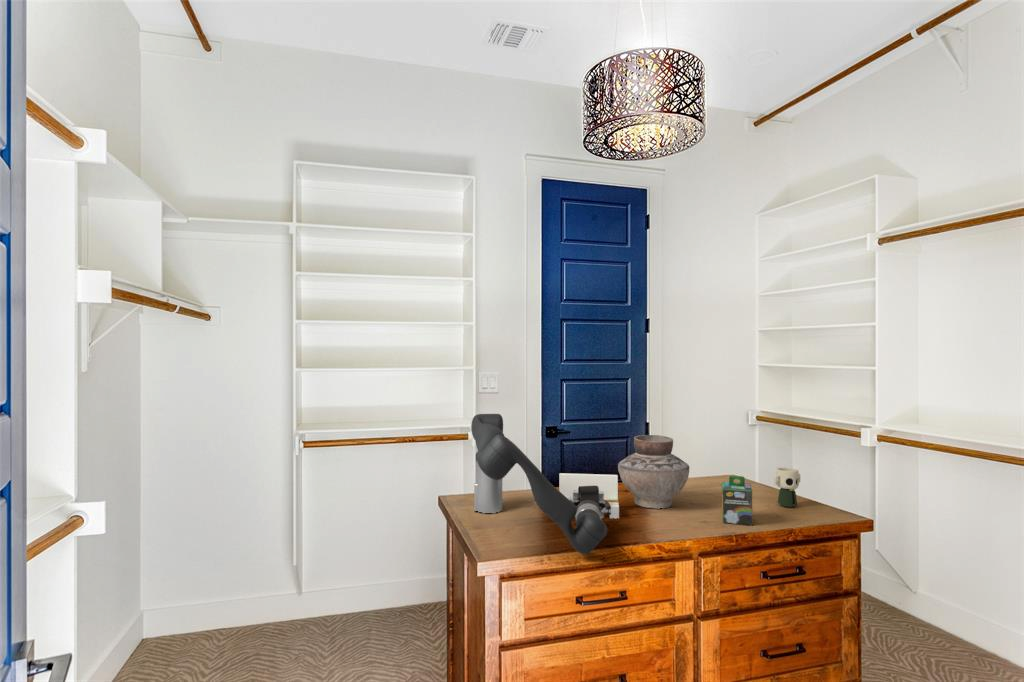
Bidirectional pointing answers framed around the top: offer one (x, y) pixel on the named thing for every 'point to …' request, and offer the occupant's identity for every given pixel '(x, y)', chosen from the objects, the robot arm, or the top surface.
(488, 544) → the top surface
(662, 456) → the ceramic pot
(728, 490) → the chalk box
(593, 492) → the phone stand
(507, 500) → the top surface
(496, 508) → the robot arm
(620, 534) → the top surface
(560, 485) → the panel and block assembly
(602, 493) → the block and dowel assembly
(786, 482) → the character mug
